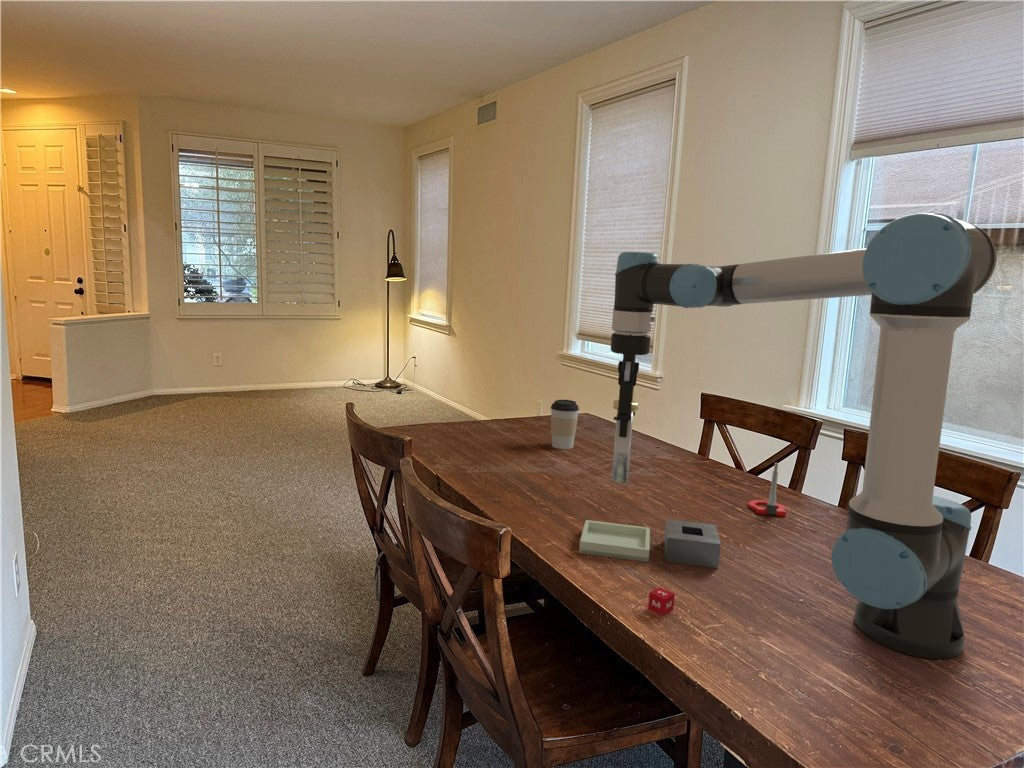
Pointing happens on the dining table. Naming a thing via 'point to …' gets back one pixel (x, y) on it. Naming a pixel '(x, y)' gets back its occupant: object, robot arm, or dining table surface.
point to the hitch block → (692, 543)
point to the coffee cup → (563, 423)
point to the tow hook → (770, 500)
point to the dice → (661, 601)
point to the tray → (615, 540)
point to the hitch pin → (620, 458)
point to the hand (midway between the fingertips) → (622, 449)
